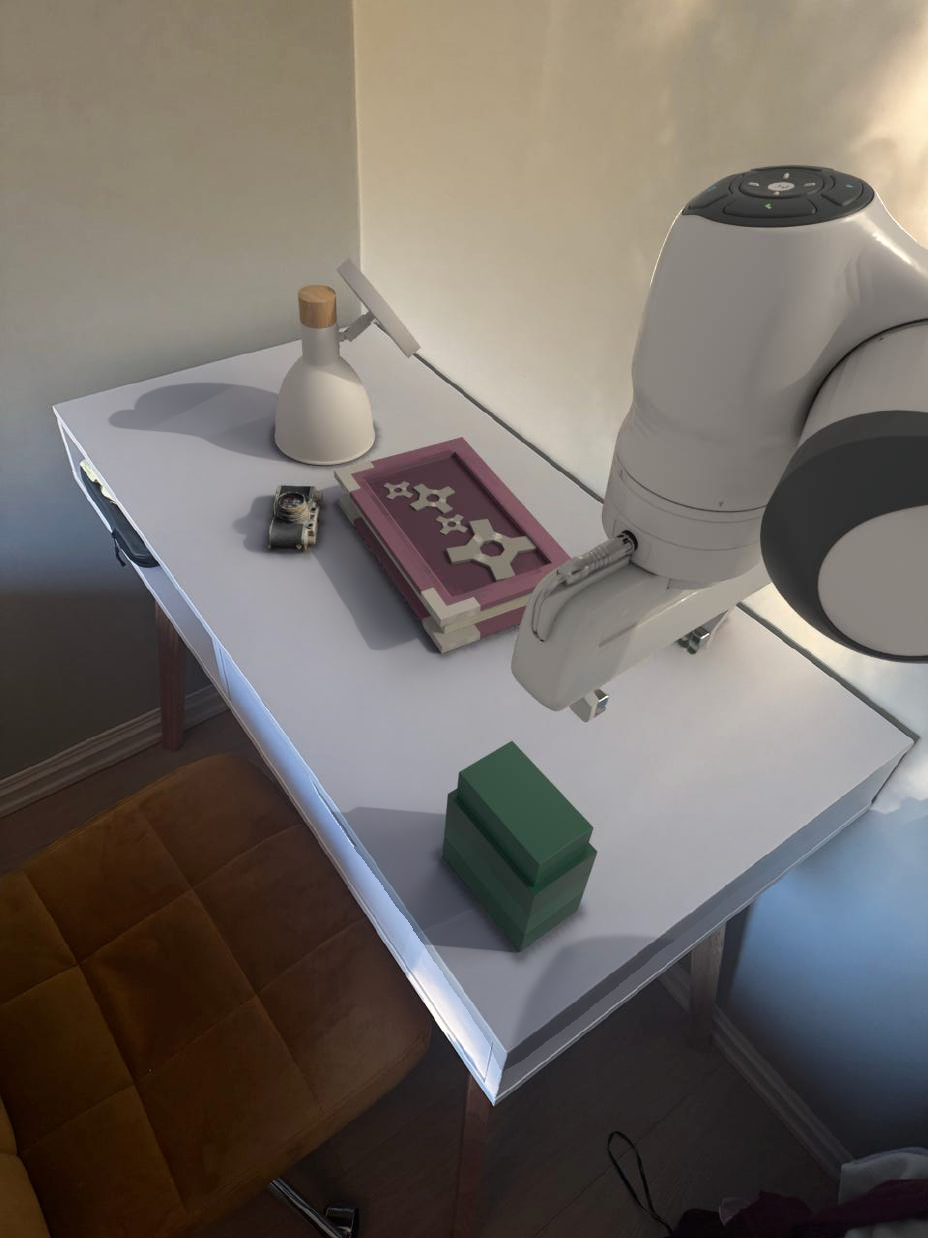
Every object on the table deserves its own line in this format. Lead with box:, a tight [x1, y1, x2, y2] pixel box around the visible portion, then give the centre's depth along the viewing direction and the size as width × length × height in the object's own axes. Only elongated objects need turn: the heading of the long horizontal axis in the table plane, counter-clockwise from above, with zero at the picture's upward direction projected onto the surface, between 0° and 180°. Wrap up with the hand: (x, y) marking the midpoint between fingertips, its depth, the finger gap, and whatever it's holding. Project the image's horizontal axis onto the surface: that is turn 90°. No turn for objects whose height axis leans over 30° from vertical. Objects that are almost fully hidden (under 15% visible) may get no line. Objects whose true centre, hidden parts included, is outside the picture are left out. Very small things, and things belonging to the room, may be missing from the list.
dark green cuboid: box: [456, 740, 594, 886], centre depth 65 cm, size 9×5×3 cm, turn 37°
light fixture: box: [274, 257, 421, 466], centre depth 107 cm, size 13×21×20 cm
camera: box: [267, 484, 324, 552], centre depth 99 cm, size 5×10×4 cm, turn 0°
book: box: [333, 436, 572, 654], centre depth 97 cm, size 25×16×5 cm, turn 29°
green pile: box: [441, 788, 598, 953], centre depth 69 cm, size 10×6×9 cm, turn 37°
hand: (640, 676), depth 57 cm, fingers open, 8 cm apart
